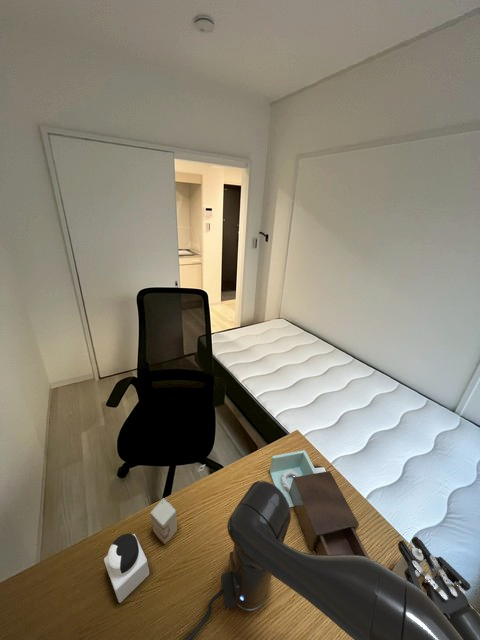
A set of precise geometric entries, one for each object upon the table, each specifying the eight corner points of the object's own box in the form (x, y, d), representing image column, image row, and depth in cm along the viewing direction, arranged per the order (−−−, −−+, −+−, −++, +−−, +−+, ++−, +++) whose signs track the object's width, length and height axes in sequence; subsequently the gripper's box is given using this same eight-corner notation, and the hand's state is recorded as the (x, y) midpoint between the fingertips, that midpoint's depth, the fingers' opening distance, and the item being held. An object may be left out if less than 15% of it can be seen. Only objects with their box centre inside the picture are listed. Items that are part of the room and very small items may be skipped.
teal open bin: (269, 470, 84) (272, 456, 81) (301, 464, 87) (304, 449, 84) (283, 508, 73) (287, 494, 70) (318, 500, 76) (323, 485, 73)
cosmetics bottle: (152, 532, 66) (149, 511, 62) (165, 517, 69) (163, 496, 65) (165, 546, 63) (162, 526, 59) (178, 530, 67) (176, 509, 62)
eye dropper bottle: (418, 587, 60) (438, 564, 55) (394, 584, 60) (413, 561, 55) (408, 564, 64) (426, 540, 59) (386, 561, 64) (402, 537, 59)
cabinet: (351, 540, 68) (359, 524, 64) (310, 551, 65) (316, 535, 61) (324, 486, 80) (329, 470, 77) (288, 493, 78) (293, 477, 74)
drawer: (386, 611, 55) (395, 600, 53) (342, 627, 53) (349, 616, 50) (340, 519, 71) (346, 507, 69) (304, 528, 69) (309, 515, 66)
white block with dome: (137, 546, 63) (131, 521, 58) (150, 574, 59) (145, 549, 53) (108, 572, 58) (99, 547, 53) (119, 604, 54) (111, 580, 49)
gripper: (520, 634, 45) (435, 525, 60) (462, 660, 42) (387, 538, 57) (499, 647, 48) (423, 541, 63) (443, 672, 45) (377, 554, 60)
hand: (407, 540), depth 60 cm, fingers open, 3 cm apart
